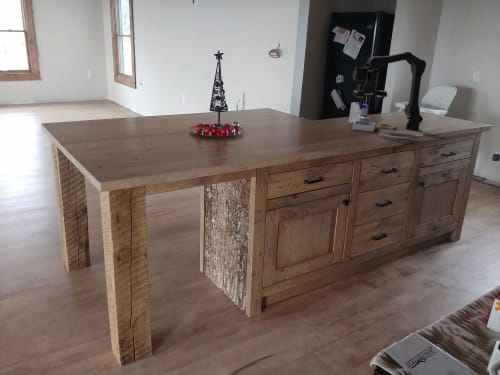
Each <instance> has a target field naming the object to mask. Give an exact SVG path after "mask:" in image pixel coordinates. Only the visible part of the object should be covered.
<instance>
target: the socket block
mask: <svg viewBox="0 0 500 375" xmlns="http://www.w3.org/2000/svg"><path fill="white" fill-rule="evenodd" d="M395 128H396V124H389V123H380V122H378V123H377V122H376V124H375V129H380V130H381V129H382V130H390V131H394V130H395Z"/></svg>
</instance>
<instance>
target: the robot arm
mask: <svg viewBox="0 0 500 375" xmlns="http://www.w3.org/2000/svg"><path fill="white" fill-rule="evenodd" d="M403 61H406V62H407V63H408V65H410V72H411V86H410V94H409V99H408V100H409V101H408V103H407V104H405V105H404V110H403V112H404V113H405V116H406V118H407V120H408V121H407V122H406V127H405V129H406V130H407V131H412V132H419V131H420V126H421V124H420V123H423V119H424V118H423V117H422V115H421V109H420V103H419V97H420V90H421V82H422V77H423V74H424V73H425V70H426V67H427V62H426V61H425V60H424V59H421V58H419V57H418V56H416V55H414V54H413V53H412V52H410V51H404V52H399V53H395V54H390V55H385V56H370V57H369V58H368V59H367V62H366V63H365V64H364V65H363V67H357V66H356V67H354V70H353V72H352V80H353V81H365V82H364V85H363V84H362V83H358V84H357V85H356V86H357V87H356V89H357V90H353V91H352V96H353V97H354V98H356V100H357V103H358V102H359V107H360V109H362V106H363V104H364V102H365V97H364V96H374V99H375V101H374V110H377V109H378V107H379V106H380V104H381V102H383V100H384V99H385V98H387V97H388V92H387V91H385V90H377V86H379V83H378V77H379V73H381V74H382V73H383V71H382V70H381V67H383V66H385V65H387V64H391V63H396V62H403ZM363 101H364V102H363Z"/></svg>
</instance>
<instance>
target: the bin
mask: <svg viewBox="0 0 500 375" xmlns="http://www.w3.org/2000/svg"><path fill="white" fill-rule="evenodd" d="M360 122H361V121H355V122H352V128H351V129H352V132H354V131H356V132H359V133H363V132H367V133H368V134H371V133H374V131H375V129H376V125H377V122H371V121H369V122H368V125H361V124H360Z"/></svg>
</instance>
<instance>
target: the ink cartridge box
mask: <svg viewBox="0 0 500 375" xmlns="http://www.w3.org/2000/svg"><path fill="white" fill-rule="evenodd" d="M368 110H369V104H367V103H365V100H364V101H363V106H362V109H360V107H359V102H358V101H357V102H355V101H353V102H351V104H350V111H349V118H348V123H352V124H353V123H354V122H355V121H361V118H360V117H361V116H368V112H369V111H368Z"/></svg>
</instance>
